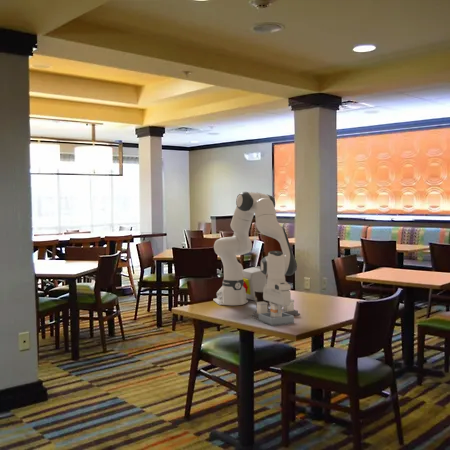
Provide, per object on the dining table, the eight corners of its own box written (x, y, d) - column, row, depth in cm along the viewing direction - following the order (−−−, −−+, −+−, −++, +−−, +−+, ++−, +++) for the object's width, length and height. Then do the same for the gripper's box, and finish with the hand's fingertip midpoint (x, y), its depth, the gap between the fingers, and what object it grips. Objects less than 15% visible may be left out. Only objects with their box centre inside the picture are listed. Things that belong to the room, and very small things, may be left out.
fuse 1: (256, 315, 273) (256, 302, 273) (263, 314, 275) (263, 301, 274) (260, 317, 269) (260, 303, 269) (267, 316, 271) (267, 302, 271)
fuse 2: (282, 312, 280) (282, 299, 280) (289, 311, 282) (289, 298, 282) (287, 314, 276) (287, 300, 276) (294, 313, 278) (294, 299, 278)
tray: (258, 320, 265) (258, 313, 264) (280, 318, 270) (280, 311, 270) (271, 326, 253) (271, 318, 253) (294, 323, 259) (294, 316, 259)
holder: (250, 316, 274) (250, 312, 273) (291, 312, 285) (291, 307, 285) (258, 319, 266) (258, 315, 266) (300, 314, 277) (300, 310, 277)
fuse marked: (270, 316, 263) (270, 302, 262) (277, 316, 264) (277, 302, 264) (274, 318, 259) (274, 304, 259) (282, 317, 261) (282, 303, 260)
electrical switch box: (236, 301, 326) (232, 269, 324) (257, 296, 332) (253, 265, 330) (247, 305, 312) (243, 272, 310) (269, 300, 319) (265, 267, 317)
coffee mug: (269, 310, 289) (269, 292, 288) (253, 310, 290) (253, 291, 290) (271, 306, 300) (271, 288, 300) (256, 306, 302) (256, 288, 301)
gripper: (260, 281, 269) (260, 308, 269) (281, 287, 250) (281, 316, 251) (270, 280, 272) (270, 307, 272) (292, 286, 253) (292, 315, 254)
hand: (276, 312), depth 261 cm, fingers closed on fuse marked, 4 cm apart
